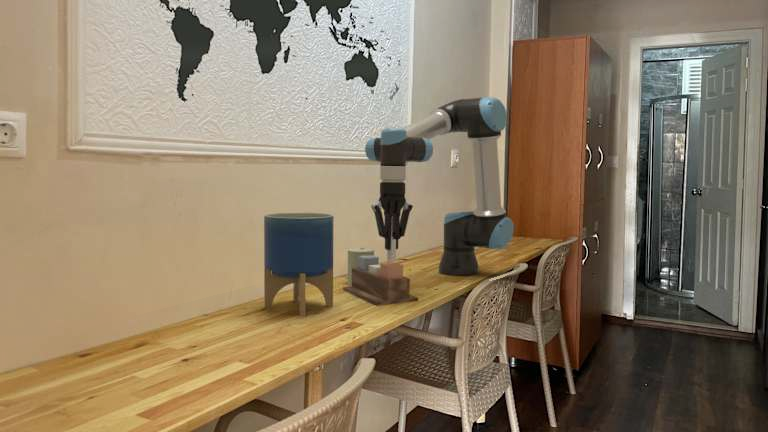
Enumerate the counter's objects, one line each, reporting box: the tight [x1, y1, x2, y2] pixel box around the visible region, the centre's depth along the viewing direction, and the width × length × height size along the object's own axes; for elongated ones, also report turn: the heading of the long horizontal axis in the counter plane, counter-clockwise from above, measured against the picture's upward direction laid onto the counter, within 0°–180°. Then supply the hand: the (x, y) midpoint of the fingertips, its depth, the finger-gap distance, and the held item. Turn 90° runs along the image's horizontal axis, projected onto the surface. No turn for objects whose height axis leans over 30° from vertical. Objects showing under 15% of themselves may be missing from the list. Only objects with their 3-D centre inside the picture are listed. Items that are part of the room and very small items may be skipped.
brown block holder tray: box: [342, 267, 419, 306], centre depth 191 cm, size 14×24×7 cm, turn 27°
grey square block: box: [358, 255, 380, 271], centre depth 198 cm, size 5×5×6 cm
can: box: [346, 247, 375, 286], centre depth 210 cm, size 9×9×12 cm
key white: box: [369, 263, 380, 275], centre depth 191 cm, size 5×5×6 cm
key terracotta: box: [379, 261, 404, 280], centre depth 184 cm, size 5×5×6 cm
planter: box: [263, 211, 334, 317], centre depth 173 cm, size 19×19×26 cm
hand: (391, 260), depth 183 cm, fingers closed
